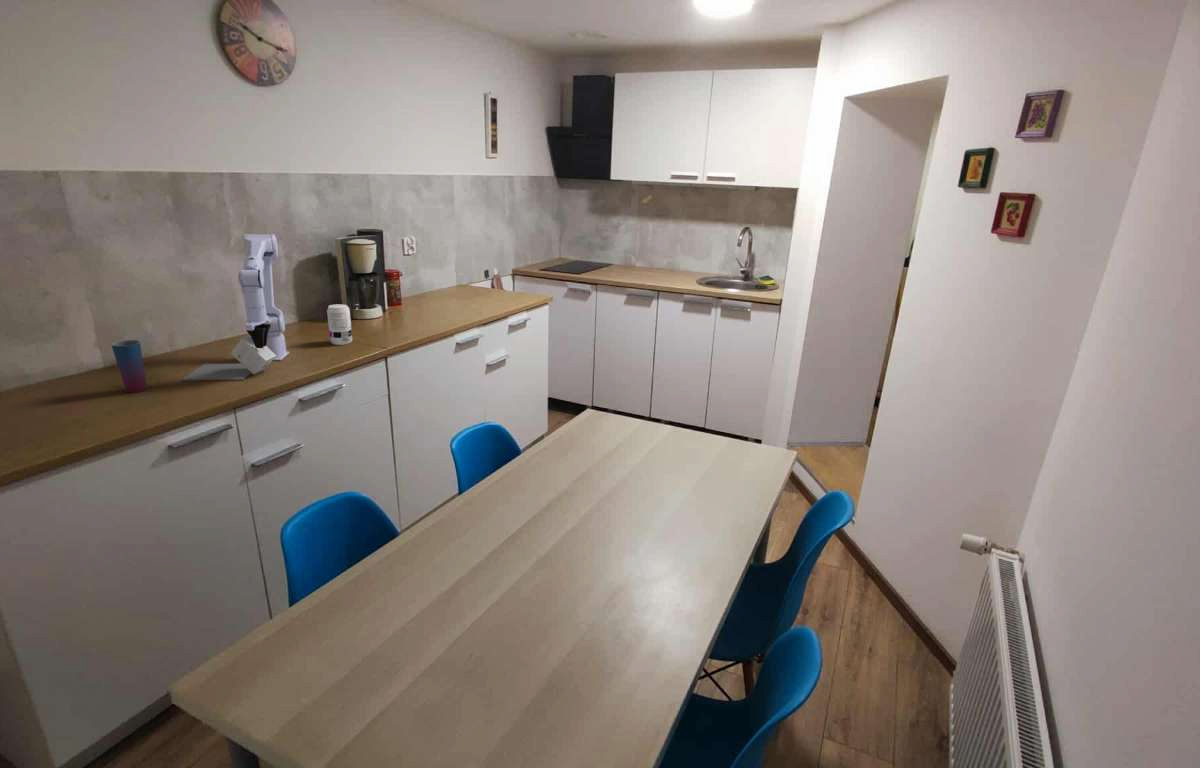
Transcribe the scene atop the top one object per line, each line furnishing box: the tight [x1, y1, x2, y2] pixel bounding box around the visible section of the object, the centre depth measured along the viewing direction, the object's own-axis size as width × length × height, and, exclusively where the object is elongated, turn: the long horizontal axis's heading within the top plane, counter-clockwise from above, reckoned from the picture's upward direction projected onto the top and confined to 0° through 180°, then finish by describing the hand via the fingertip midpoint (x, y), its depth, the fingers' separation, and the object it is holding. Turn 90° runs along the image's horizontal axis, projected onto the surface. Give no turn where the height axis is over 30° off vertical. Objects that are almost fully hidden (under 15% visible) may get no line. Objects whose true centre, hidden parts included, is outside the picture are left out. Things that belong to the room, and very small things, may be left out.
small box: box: [230, 334, 276, 375], centre depth 198 cm, size 8×6×10 cm
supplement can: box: [326, 303, 353, 346], centre depth 235 cm, size 8×8×15 cm
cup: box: [110, 339, 148, 394], centre depth 178 cm, size 7×7×15 cm
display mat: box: [181, 363, 252, 382], centre depth 198 cm, size 16×18×1 cm
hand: (261, 347), depth 197 cm, fingers closed
